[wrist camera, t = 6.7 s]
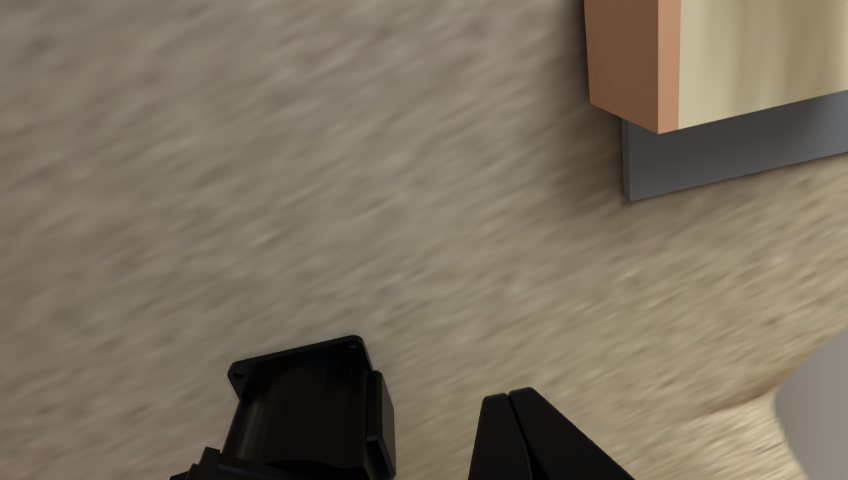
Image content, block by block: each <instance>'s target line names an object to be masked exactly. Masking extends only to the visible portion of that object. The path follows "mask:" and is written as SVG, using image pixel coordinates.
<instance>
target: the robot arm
mask: <svg viewBox="0 0 848 480" xmlns="http://www.w3.org/2000/svg"><path fill="white" fill-rule="evenodd" d="M350 345H356V346H358V347H356V348H351V347H349V346H350ZM236 371H241V372H243V374H239V373H237V372H236ZM227 375H228V378H229V380H230V382H231V384H232V386H233V388H234V390H235V392H236V394H237V396H238V398H239V400H240V401H239V404H238V406H237V409H236V412H235V415H234V418H233V421H232V424H231V427H230V430H229V432H228V435H227V438H226V441H225V444H224V447H223V450H222V453H220V450H218V449H214V448H210V447H205V450H204V452H203V454H202V457H201V459H200V461H199V463H198V464H194V463H193V464H192V466H191V468H190V470H189V471H187V472H184V473H181V474H177V475H174V476H171V478H170V480H393V479H394V477H395V475H396V453H395V430H394V409H393V406H392V402H391V399H390V396H389V393H388V390H387V387H386V384H385V381H384V378H383V375H382V373H381V372H379V371H378V370H375V371H374V370H373V367H372V364H371V361H370V358H369V355H368V352H367V349H366V346H365V343H364V341H363V339H362V338H361V337H359V336H356V335H350V336H346V337H341V338H337V339H333V340H328V341H324V342H320V343H315V344H311V345H306V346H302V347H298V348H293V349H289V350H285V351H280V352H276V353H272V354H267V355H263V356H258V357H254V358H250V359H245V360H241V361H237V362H234V363H233V364H232V365H231V366H230V368H229V371H228V374H227ZM468 480H635V479H634V478H633V477H632V476H631V475H630V474H629V473H627V472H626V471H625V470H624V469H623V468H622V467H621V466H620V465H618V464H617V463H616V462H615V461H614V460H613V459H612V458H611V457H610V456H608V455H607V454H606V453H605V452H604V451H603V450H602V449H601V448H599V447H598V446H597V445H596V444H595V443H594V442H593V441H592V440H591V439H589V438H588V437H587V436H586V435H585V434H584V433H583V432H582V431H580V430H579V429H578V428H577V427H576V426H575V425H574V424H573V423H571V422H570V421H569V420H568V419H567V418H566V417H565V416H564V415H563V414H561V413H560V412H559V411H558V410H557V409H556V408H555V407H554V406H552V405H551V404H550V403H549V402H548V401H547V400H546V399H545V398H544V397H542V396H541V395H540V394H539V393H538V392H537V391H536V390H534V389H533V388H531V387H526V388H521V389H517V390H513V391H510V392H509V394H508V395H507V394H506V393H499V394H495V395H491V396H486V397H485V398H484V399H483V401H482V406H481V411H480V417H479V422H478V428H477V433H476V439H475V444H474V449H473V455H472V460H471V466H470V471H469V477H468Z"/></svg>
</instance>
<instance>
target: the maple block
mask: <svg viewBox="0 0 848 480" xmlns="http://www.w3.org/2000/svg"><path fill="white" fill-rule="evenodd" d="M584 8H585V25H586V42H587V58H588V75H589V91H590V103H591V104H593V105H595V106H597V107H599V108H602V109H604V110H606V111H608V112H610V113H613V114H615V115H617V116H619V117H621V118H624V119H626V120H628V121H630V122H632V123H635V124H637V125H639V126H641V127H643V128H646V129H648V130H650V131H652V132H654V133H657V134H661V133H665V132H669V131H674V130H678V129H682V128H686V127H691V126H695V125H699V124H703V123H708V122H712V121H716V120H720V119H725V118H729V117H733V116H737V115H742V114H746V113H750V112H754V111H759V110H763V109H767V108H771V107H776V106H780V105H784V104H788V103H793V102H797V101H801V100H805V99H810V98H814V97H818V96H822V95H827V94H831V93H835V92H839V91H844V90H848V0H584Z"/></svg>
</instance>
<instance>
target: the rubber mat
mask: <svg viewBox="0 0 848 480" xmlns="http://www.w3.org/2000/svg"><path fill="white" fill-rule="evenodd" d="M621 123H622V157H623V191H624V197H625V198H626V199H627V200H629V201H630V202H631V201H635V200H640V199H644V198H648V197H652V196H657V195H661V194H665V193H670V192H674V191H678V190H683V189H687V188H691V187H696V186H700V185H704V184H709V183H713V182H717V181H722V180H726V179H730V178H735V177H739V176H743V175H748V174H752V173H756V172H761V171H765V170H769V169H774V168H778V167H782V166H787V165H791V164H795V163H800V162H804V161H808V160H813V159H817V158H821V157H826V156H830V155H834V154H839V153H843V152H847V151H848V90H844V91H839V92H835V93H831V94H827V95H822V96H818V97H814V98H810V99H805V100H801V101H797V102H793V103H788V104H784V105H780V106H776V107H771V108H767V109H763V110H759V111H754V112H750V113H746V114H742V115H737V116H733V117H729V118H725V119H720V120H716V121H712V122H708V123H703V124H699V125H695V126H691V127H686V128H682V129H678V130H674V131H669V132H665V133H661V134H657V133H654V132H652V131H650V130H648V129H646V128H643V127H641V126H639V125H637V124H635V123H632V122H630V121H628V120H626V119H624V118H621Z"/></svg>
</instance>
